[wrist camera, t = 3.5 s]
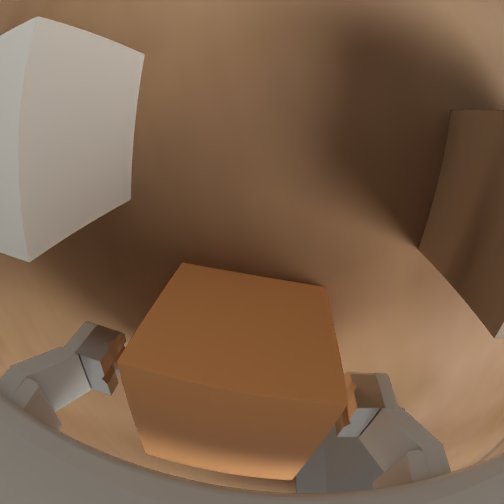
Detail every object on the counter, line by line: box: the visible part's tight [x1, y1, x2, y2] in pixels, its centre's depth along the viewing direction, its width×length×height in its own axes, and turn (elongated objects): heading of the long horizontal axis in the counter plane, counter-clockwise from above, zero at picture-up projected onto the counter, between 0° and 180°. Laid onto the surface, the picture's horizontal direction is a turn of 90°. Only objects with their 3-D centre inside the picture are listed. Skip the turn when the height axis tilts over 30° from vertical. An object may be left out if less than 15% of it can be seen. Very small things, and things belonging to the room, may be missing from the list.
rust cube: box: [117, 262, 349, 480], centre depth 9 cm, size 5×5×5 cm
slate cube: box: [296, 409, 405, 493], centre depth 11 cm, size 5×5×5 cm
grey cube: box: [0, 16, 145, 263], centre depth 6 cm, size 5×5×5 cm
